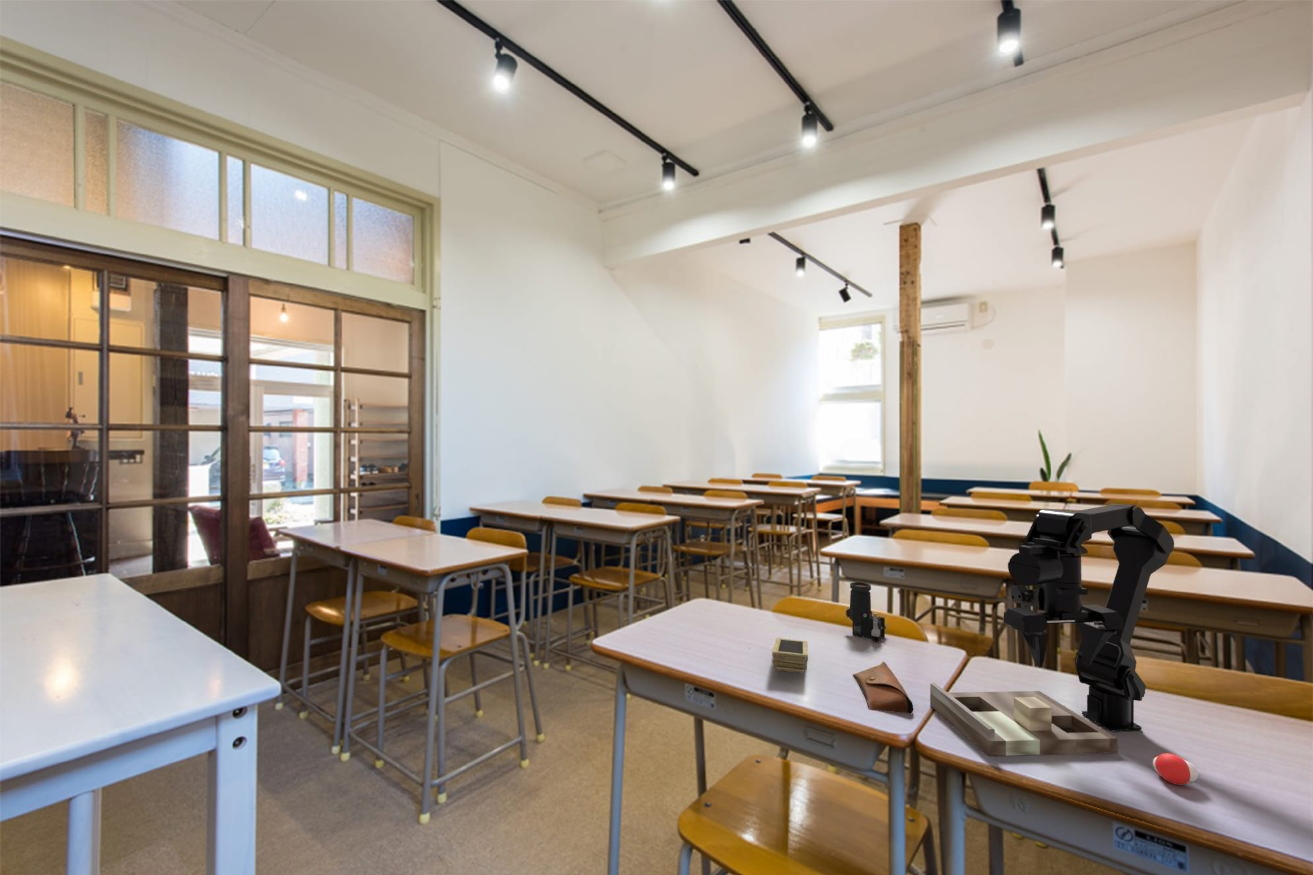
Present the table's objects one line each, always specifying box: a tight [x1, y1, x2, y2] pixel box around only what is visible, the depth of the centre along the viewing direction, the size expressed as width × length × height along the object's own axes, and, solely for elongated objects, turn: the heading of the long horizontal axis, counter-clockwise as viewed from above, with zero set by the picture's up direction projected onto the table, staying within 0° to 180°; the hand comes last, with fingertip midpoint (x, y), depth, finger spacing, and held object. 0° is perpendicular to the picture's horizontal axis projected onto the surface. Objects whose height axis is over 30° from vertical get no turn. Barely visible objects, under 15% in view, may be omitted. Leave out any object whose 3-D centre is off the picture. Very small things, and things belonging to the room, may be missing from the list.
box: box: [771, 637, 809, 674], centre depth 132 cm, size 8×22×5 cm, turn 166°
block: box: [1014, 697, 1052, 731], centre depth 99 cm, size 4×4×4 cm
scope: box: [845, 581, 887, 643], centre depth 152 cm, size 8×14×10 cm
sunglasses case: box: [852, 661, 914, 715], centre depth 117 cm, size 18×7×7 cm
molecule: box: [1152, 752, 1199, 786], centre depth 87 cm, size 5×5×4 cm
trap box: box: [929, 682, 1119, 757], centre depth 103 cm, size 23×18×4 cm
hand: (1062, 665), depth 100 cm, fingers open, 9 cm apart
